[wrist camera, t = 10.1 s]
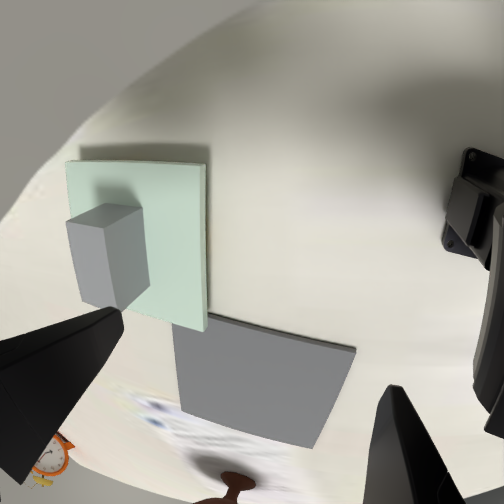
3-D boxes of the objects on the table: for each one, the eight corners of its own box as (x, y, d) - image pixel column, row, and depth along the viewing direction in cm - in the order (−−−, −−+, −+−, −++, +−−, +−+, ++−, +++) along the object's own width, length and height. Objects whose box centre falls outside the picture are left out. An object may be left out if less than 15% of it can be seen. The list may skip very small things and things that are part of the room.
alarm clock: (80, 450, 61) (42, 499, 43) (76, 451, 64) (40, 497, 46) (43, 416, 59) (2, 462, 42) (41, 419, 62) (3, 463, 45)
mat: (356, 348, 22) (356, 353, 21) (313, 445, 28) (312, 448, 28) (173, 303, 25) (170, 306, 25) (183, 407, 32) (181, 410, 31)
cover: (205, 164, 18) (162, 180, 14) (207, 326, 23) (178, 367, 19) (72, 160, 21) (25, 174, 17) (91, 290, 26) (57, 317, 22)
